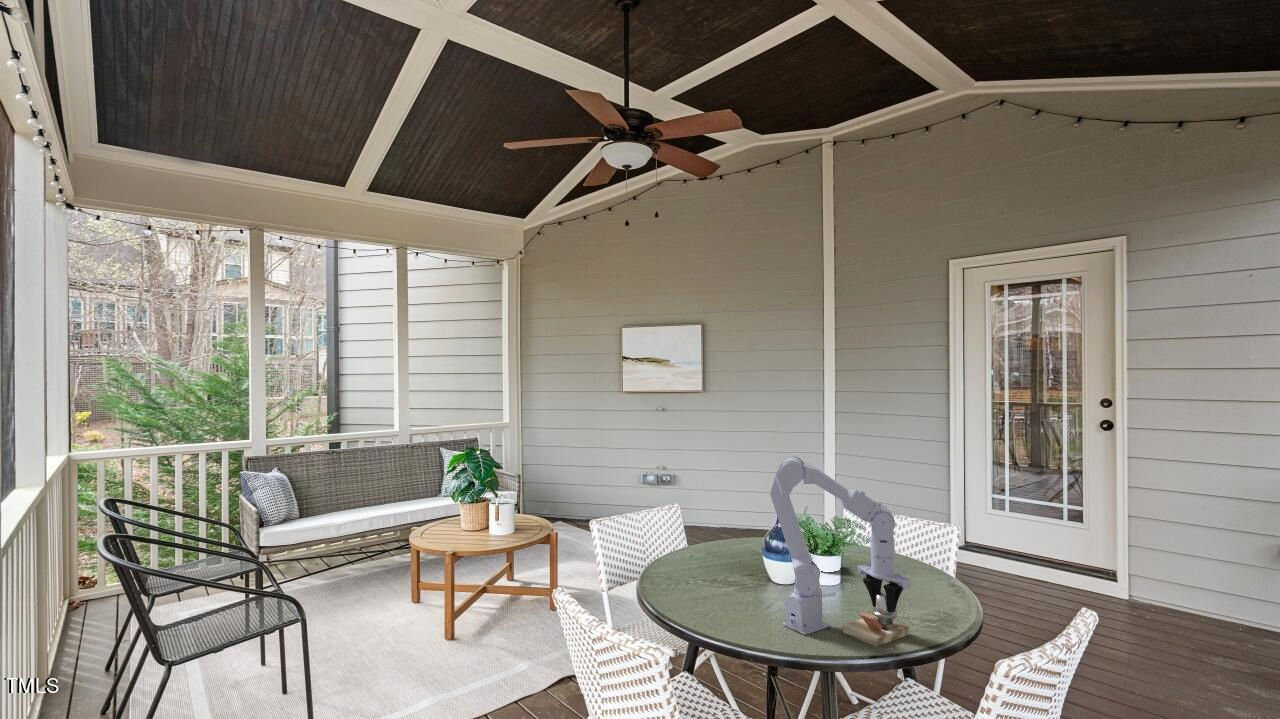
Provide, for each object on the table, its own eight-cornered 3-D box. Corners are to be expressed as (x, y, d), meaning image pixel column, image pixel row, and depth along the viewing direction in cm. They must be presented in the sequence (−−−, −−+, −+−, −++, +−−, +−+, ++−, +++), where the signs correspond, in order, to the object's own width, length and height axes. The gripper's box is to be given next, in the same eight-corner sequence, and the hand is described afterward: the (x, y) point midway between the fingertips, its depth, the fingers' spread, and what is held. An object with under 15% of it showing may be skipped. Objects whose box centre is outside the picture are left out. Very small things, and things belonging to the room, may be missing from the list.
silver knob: (887, 628, 157) (886, 600, 157) (867, 620, 162) (867, 593, 162) (901, 622, 160) (901, 595, 160) (882, 615, 165) (881, 588, 165)
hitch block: (875, 646, 153) (875, 638, 153) (843, 632, 162) (842, 624, 162) (909, 634, 160) (909, 626, 160) (876, 621, 169) (876, 613, 169)
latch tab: (872, 619, 156) (874, 616, 156) (859, 614, 159) (861, 611, 160) (880, 630, 157) (882, 628, 158) (867, 625, 161) (868, 622, 161)
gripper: (918, 559, 157) (919, 614, 157) (869, 546, 170) (870, 597, 170) (900, 564, 154) (901, 620, 154) (851, 550, 166) (852, 602, 166)
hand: (884, 608), depth 161 cm, fingers closed on silver knob, 4 cm apart
